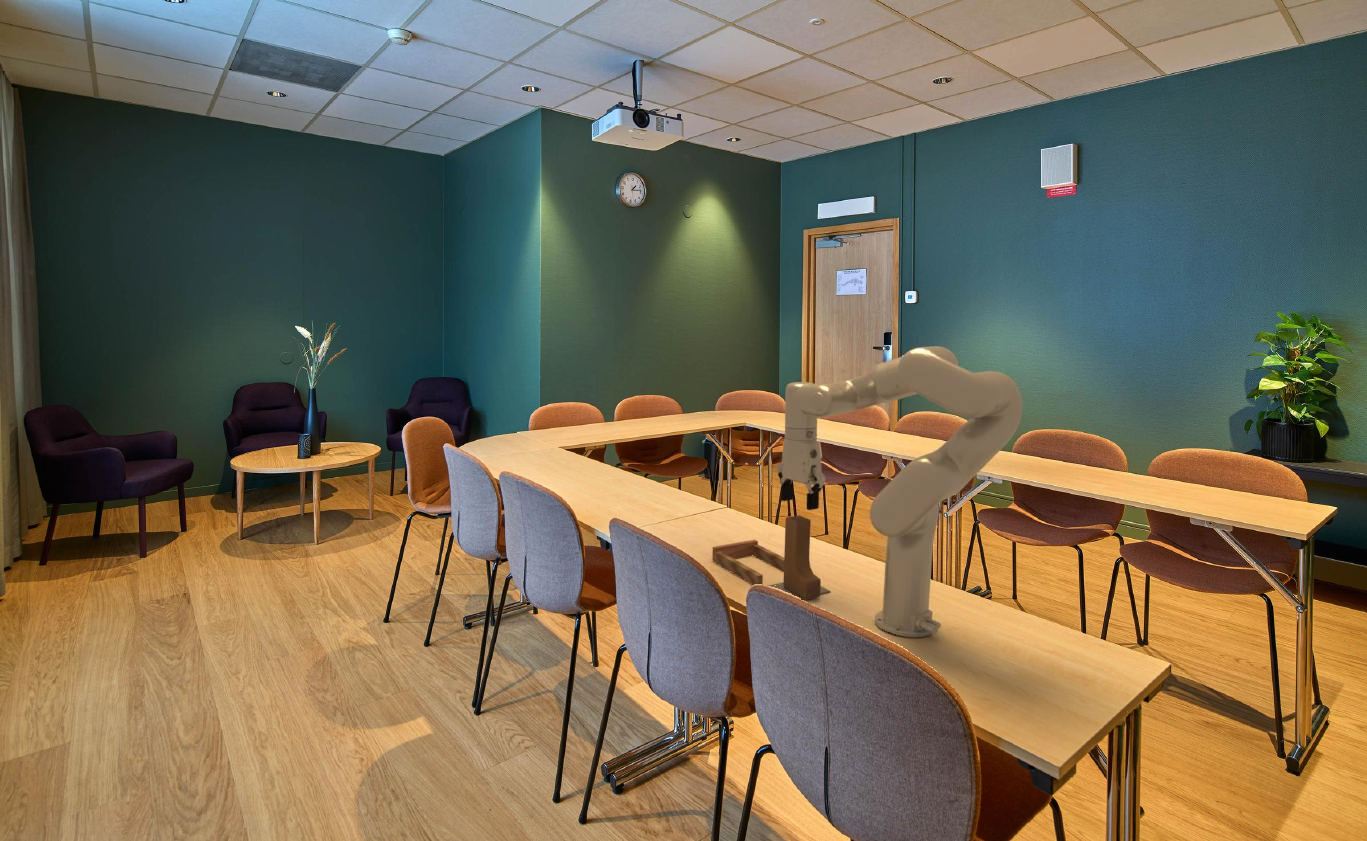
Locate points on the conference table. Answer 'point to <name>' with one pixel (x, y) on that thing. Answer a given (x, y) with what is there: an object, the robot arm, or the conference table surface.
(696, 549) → the conference table surface
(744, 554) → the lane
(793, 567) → the wooden block
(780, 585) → the mat
